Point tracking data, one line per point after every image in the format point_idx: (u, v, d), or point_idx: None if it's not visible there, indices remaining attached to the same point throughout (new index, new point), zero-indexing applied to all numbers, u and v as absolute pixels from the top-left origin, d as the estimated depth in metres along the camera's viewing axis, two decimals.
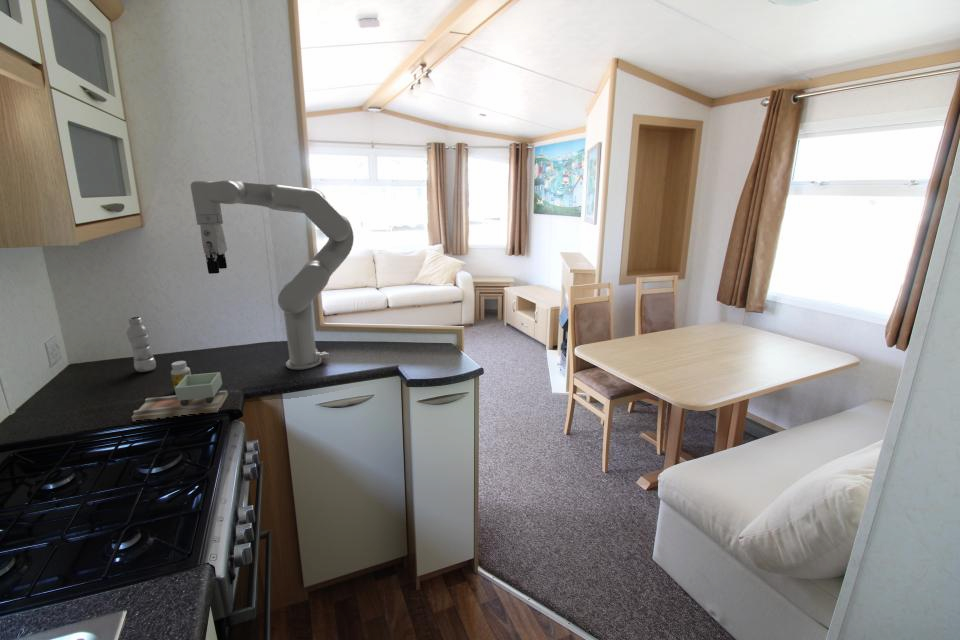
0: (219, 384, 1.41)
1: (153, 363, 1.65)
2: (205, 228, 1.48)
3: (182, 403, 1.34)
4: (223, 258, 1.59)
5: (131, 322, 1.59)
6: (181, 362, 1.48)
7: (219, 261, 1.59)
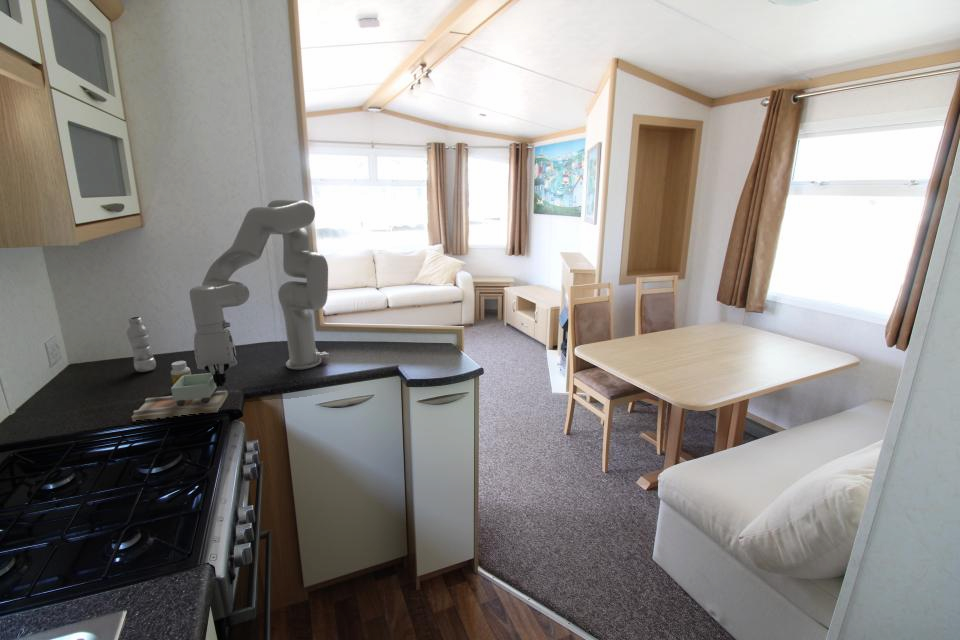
0: (215, 384, 1.41)
1: (153, 363, 1.65)
2: (228, 334, 1.36)
3: (178, 404, 1.34)
4: (219, 372, 1.39)
5: (131, 322, 1.59)
6: (181, 362, 1.48)
7: None
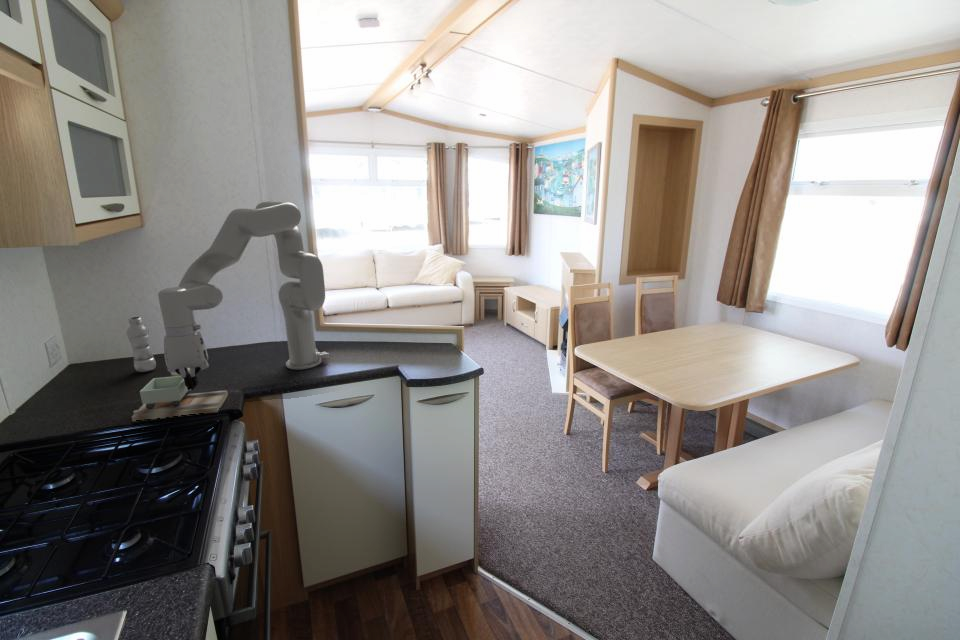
0: None
1: (153, 363, 1.65)
2: (199, 337, 1.34)
3: (148, 407, 1.32)
4: None
5: (131, 322, 1.59)
6: None
7: None
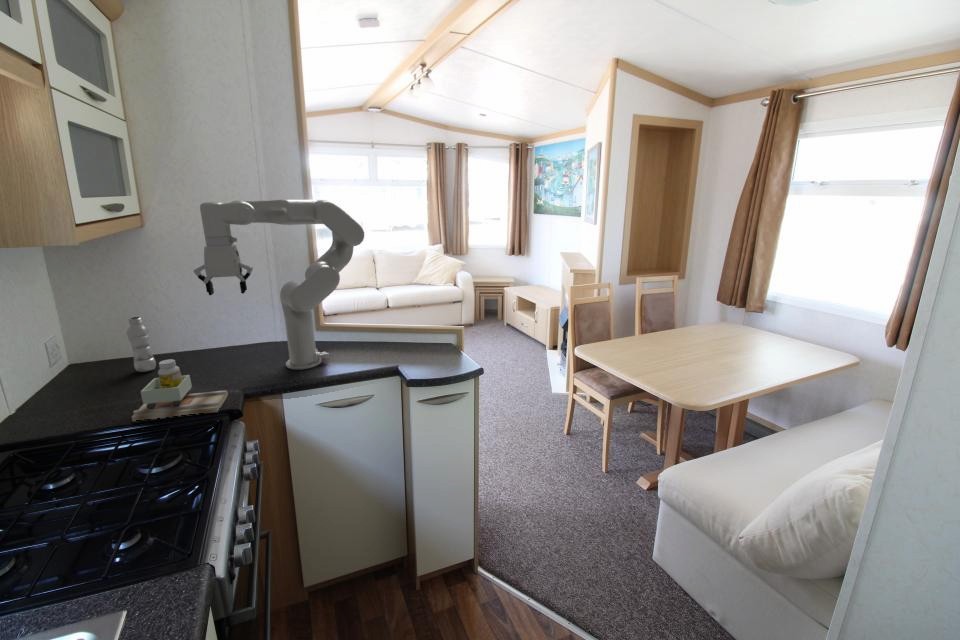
0: (188, 387, 1.39)
1: (153, 363, 1.65)
2: (235, 248, 1.48)
3: (149, 407, 1.32)
4: (211, 283, 1.50)
5: (131, 322, 1.59)
6: (170, 361, 1.34)
7: (211, 287, 1.49)
